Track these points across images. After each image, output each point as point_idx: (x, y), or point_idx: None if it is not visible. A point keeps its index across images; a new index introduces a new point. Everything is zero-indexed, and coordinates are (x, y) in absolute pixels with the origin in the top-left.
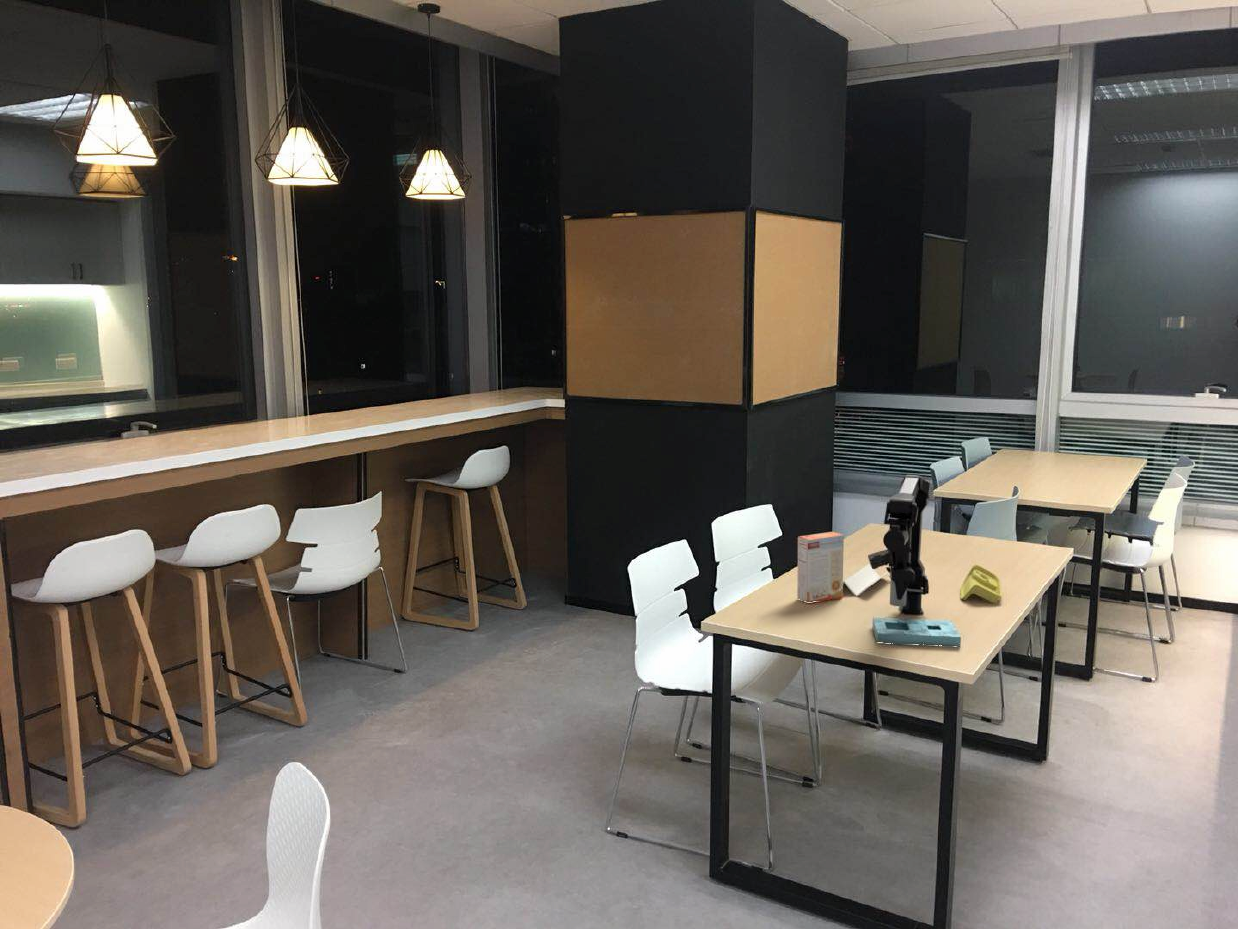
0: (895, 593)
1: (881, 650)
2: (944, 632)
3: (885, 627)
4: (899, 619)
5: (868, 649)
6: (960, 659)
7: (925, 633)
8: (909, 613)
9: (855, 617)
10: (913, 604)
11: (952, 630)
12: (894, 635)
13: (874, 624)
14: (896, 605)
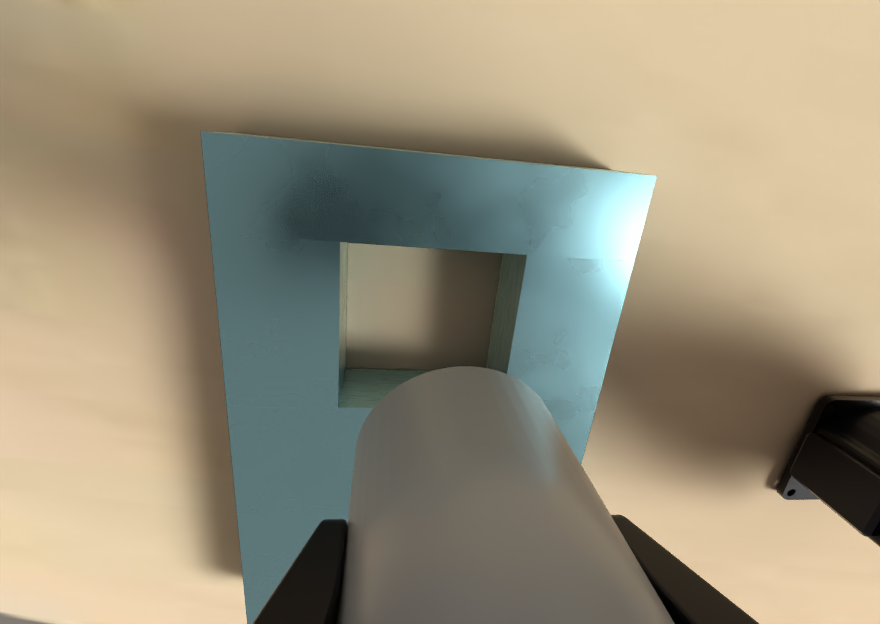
0: (357, 585)
1: (78, 137)
2: None
3: (386, 238)
4: (583, 373)
5: (66, 21)
6: (68, 565)
7: (280, 489)
8: (804, 434)
9: (850, 78)
10: (844, 491)
11: None
12: (221, 280)
13: (498, 160)
14: (358, 438)
